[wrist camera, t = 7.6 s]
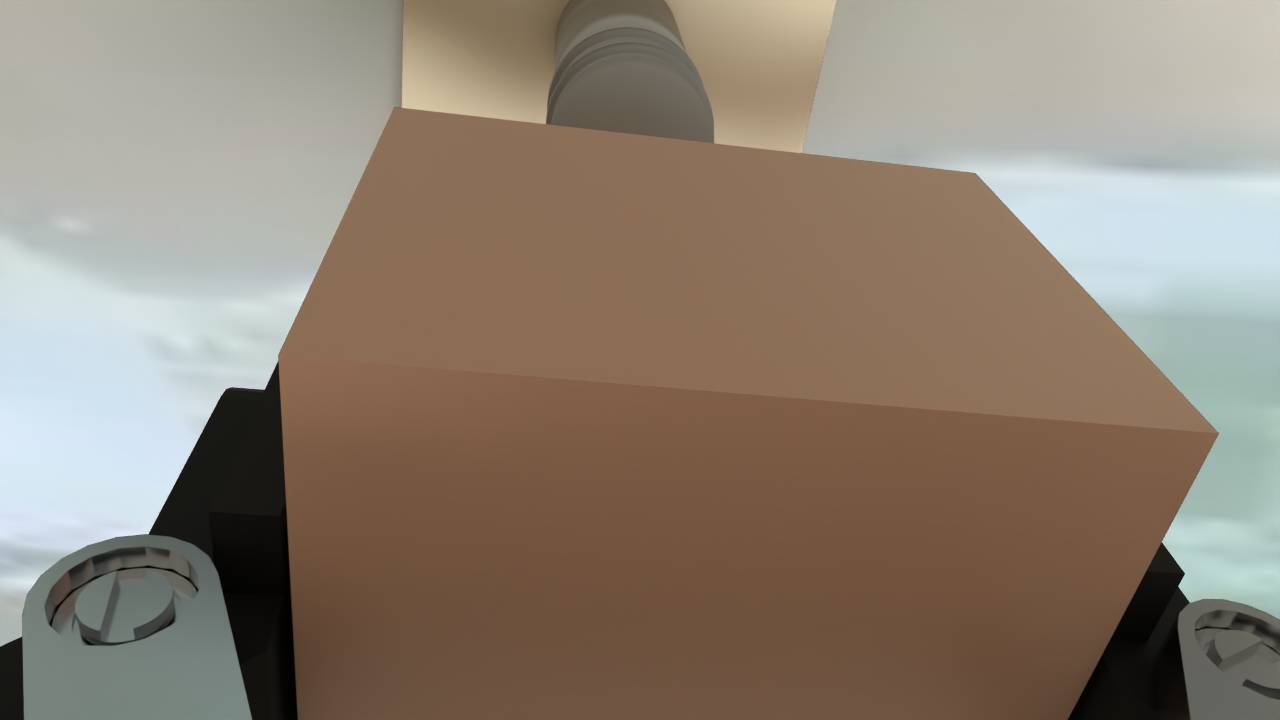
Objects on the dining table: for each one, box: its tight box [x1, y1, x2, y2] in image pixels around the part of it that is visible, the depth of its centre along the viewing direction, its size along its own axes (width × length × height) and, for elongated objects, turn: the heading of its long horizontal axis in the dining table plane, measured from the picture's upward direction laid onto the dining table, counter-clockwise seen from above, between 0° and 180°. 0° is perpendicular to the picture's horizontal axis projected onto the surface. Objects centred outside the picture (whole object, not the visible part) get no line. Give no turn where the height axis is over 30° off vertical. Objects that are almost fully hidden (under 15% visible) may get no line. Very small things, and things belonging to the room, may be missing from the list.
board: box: [402, 0, 837, 153], centre depth 24 cm, size 14×11×10 cm
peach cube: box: [278, 107, 1219, 720], centre depth 10 cm, size 6×6×5 cm
